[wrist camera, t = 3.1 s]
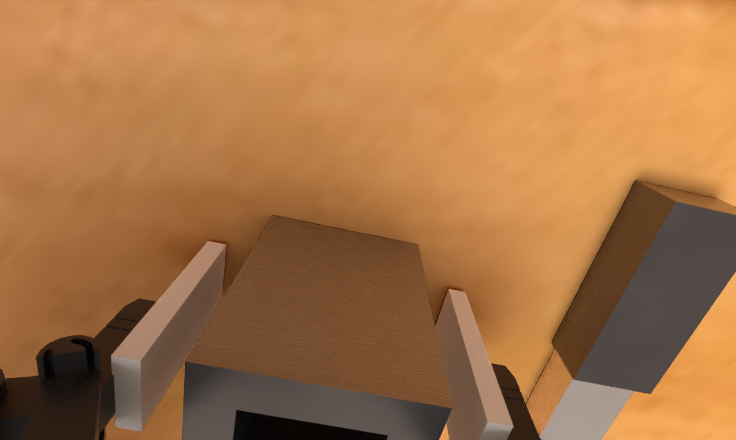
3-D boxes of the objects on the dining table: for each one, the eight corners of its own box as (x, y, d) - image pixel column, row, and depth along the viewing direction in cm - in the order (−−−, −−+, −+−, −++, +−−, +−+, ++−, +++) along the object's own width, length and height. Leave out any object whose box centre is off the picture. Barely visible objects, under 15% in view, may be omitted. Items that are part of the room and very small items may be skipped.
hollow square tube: (257, 332, 18) (178, 524, 11) (272, 214, 16) (185, 361, 9) (383, 355, 19) (389, 555, 11) (417, 245, 16) (452, 408, 9)
